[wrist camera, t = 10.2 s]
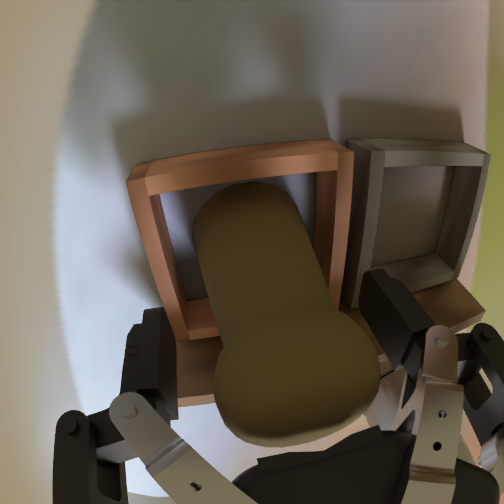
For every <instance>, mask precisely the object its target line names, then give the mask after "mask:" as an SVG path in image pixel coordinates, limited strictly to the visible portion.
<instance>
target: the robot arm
mask: <svg viewBox="0 0 504 504" xmlns="http://www.w3.org/2000/svg"><path fill="white" fill-rule="evenodd" d="M358 305H359V309H360V312H361V314H362V316H363V317H364V319H365V321H366V322H367V324H368V326H369V327H370V329H371V331H372V332H373V334H374V336H375V337H376V339H377V341H378V342H379V344H380V346H381V348H382V349H383V351H384V353H385V354H386V356H387V358H388V360H389V361H390V363H391V365H392V367H393V369H394V370H395V371H394V372H392V373H390V374H388V375H387V376H385V377H383V378H382V379H380V385H379V392H378V393H377V395H376V397H375V399H374V401H373V402H372V404H371V405H370V406H369V408H368V409H367V410H366V411H365V412H364V416H365V418H366V420H367V422H368V424H369V426H370V428H368V429H365V430H362V431H360V432H357V433H354V434H351V435H350V436H348V437H346V438H345V439H343V440H341V441H340V442H338V443H337V444H335V445H333V446H331V447H330V448H328V449H326V450H324V451H315V452H287V453H283V454H278V455H273V456H268V457H263V458H258V459H257V461H258V465H255V466H253V467H251V468H249V469H247V470H246V471H244V472H243V473H241V474H240V475H238V476H237V477H236V478H235V479H234V480H233V481H232V482H230V481H229V480H227V479H226V478H225V477H224V476H223V475H222V474H220V473H219V472H218V471H217V470H216V469H215V468H213V467H212V466H211V465H210V464H209V463H208V462H207V461H206V460H205V459H204V458H202V457H201V456H200V455H199V454H198V453H197V452H196V451H195V450H194V449H193V448H192V447H191V446H190V445H189V444H188V443H187V442H186V441H184V440H183V439H182V438H181V437H180V436H179V435H178V434H177V433H176V432H175V431H174V430H173V429H172V428H171V427H170V420H178V419H179V418H178V396H177V347H176V340H175V335H174V332H173V330H172V327H171V324H170V322H169V319H168V316H167V314H166V311H165V309H164V307H159V308H152V309H145V310H144V313H143V320H142V324H134V325H133V327H132V328H131V330H130V332H129V333H128V335H127V341H126V349H125V355H124V356H125V358H124V363H123V371H122V379H121V389H120V394H119V396H117V397H116V398H115V399H114V400H113V401H112V403H111V405H110V407H109V408H108V409H106V410H103V411H100V412H97V413H94V414H91V415H88V416H86V415H85V414H83V413H82V412H80V411H76V410H71V411H68V412H66V413H64V414H63V415H62V416H61V417H60V418H59V420H58V422H57V425H56V433H55V444H54V458H53V460H54V461H53V504H128V495H127V484H126V471H125V461H127V460H130V459H133V458H136V457H139V458H140V459H141V460H142V462H143V463H144V464H145V466H146V470H147V471H148V472H149V474H150V475H151V476H152V477H153V479H154V480H155V481H156V482H157V483H158V484H159V485H160V486H161V487H162V488H163V490H164V491H165V492H166V493H167V494H168V495H169V496H170V497H171V498H172V499H173V500H174V501H175V502H176V503H177V504H499V500H500V495H501V494H502V493H503V492H504V341H503V339H502V338H501V337H500V335H499V334H498V332H497V331H496V330H495V329H494V328H493V327H492V326H491V325H488V324H486V323H478V324H476V325H475V326H474V327H473V329H472V331H471V333H461V334H455V333H454V332H453V331H452V330H451V329H449V328H448V327H446V326H442V325H436V324H435V323H434V322H433V320H432V319H431V318H430V316H429V315H428V314H427V312H426V311H425V310H424V308H423V307H422V306H421V305H420V303H419V302H418V301H416V298H415V297H414V296H413V295H412V294H411V292H410V291H409V290H408V288H407V287H406V286H405V285H404V284H403V283H402V282H400V281H399V280H397V279H395V278H390V276H389V275H388V274H387V273H386V272H385V270H384V269H382V268H379V269H374V270H370V271H366V272H364V274H363V278H362V283H361V288H360V293H359V298H358ZM481 368H482V369H483V370H484V372H485V374H486V375H487V377H488V379H489V380H490V382H491V384H492V386H493V393H492V394H491V392H490V390H489V389H488V387H487V385H486V383H485V382H484V380H483V378H482V376H481V375H480V373H479V371H480V369H481ZM463 409H464V411H465V413H466V415H467V417H468V419H469V421H470V423H471V425H472V427H473V429H474V432H475V434H476V436H477V438H478V440H479V442H480V445H481V452H480V456H479V457H478V464H479V465H480V466H482V468H480V467H478V466H477V465H476V463H475V461H474V459H473V457H472V456H471V453H470V451H469V449H468V447H467V445H466V443H465V441H464V439H463V437H462V435H461V434H460V430H461V422H462V412H463Z"/></svg>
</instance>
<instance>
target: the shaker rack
mask: <svg viewBox="0 0 504 504" xmlns="http://www.w3.org/2000/svg"><path fill="white" fill-rule="evenodd" d="M489 162H490V154H488V153H486V152H484V151H482V150H480V149H478V148H476V147H474V146H471V145H469V144H467V143H464V142H453V141H439V140H421V139H385V138H366V139H347V143H346V147H344V146H343V145H341V144H339V143H337V142H335V141H333V140H331V139H329V140H310V141H295V142H282V143H271V144H261V145H252V146H243V147H235V148H227V149H220V150H213V151H206V152H200V153H194V154H188V155H182V156H176V157H171V158H165V159H160V160H155V161H150V162H145V163H141V164H137V165H136V166H135V168H134V169H133V171H132V173H131V174H130V176H129V177H128V179H127V180H126V184H127V188H128V192H129V196H130V200H131V204H132V208H133V211H134V215H135V219H136V222H137V226H138V229H139V233H140V236H141V239H142V243H143V246H144V249H145V252H146V256H147V259H148V262H149V265H150V268H151V271H152V274H153V277H154V280H155V283H156V286H157V289H158V292H159V295H160V298H161V300H162V303H163V306H164V309H165V311H166V314H167V316H168V319H169V322H170V324H171V327H172V330H173V332H174V335H175V340H176V347H177V396H178V407H184V406H193V405H202V404H210V403H216V402H215V400H214V390H213V379H214V374H215V369H216V365H217V361H218V357H219V353H220V352H221V351H222V349H223V348H224V346H223V343H222V340H221V337H220V333H219V330H218V327H217V324H216V321H215V317H214V314H213V311H212V308H211V304H210V301H209V298H204V299H198V300H191V301H187V300H186V296H185V293H184V289H183V286H182V282H181V279H180V275H179V271H178V268H177V264H176V260H175V256H174V253H173V249H172V245H171V241H170V237H169V233H168V229H167V224H166V220H165V216H164V212H163V207H162V203H161V198H160V194H161V193H166V192H172V191H177V190H183V189H189V188H195V187H201V186H207V185H214V184H220V183H227V182H234V181H241V180H248V179H256V178H264V177H272V176H281V175H290V174H300V173H310V172H317V175H316V223H315V248H314V252H315V255H316V257H317V260H318V263H319V265H320V268H321V271H322V274H323V276H324V279H325V282H326V285H327V287H328V290H329V293H330V296H331V299H332V302H333V304H334V307H335V310H337V311H339V312H342V313H345V314H347V315H348V316H349V317H350V318H351V319H352V320H354V321H355V322H356V323H357V324H358V325H359V326H360V327H361V328H362V329H363V330H364V332H365V333H366V334H367V335H368V336H369V338H370V339H371V341H372V343H373V345H374V346H375V348H376V350H377V355H378V359H379V363H383V362H385V361H388V358H387V356H386V354H385V353H384V351H383V349H382V348H381V346H380V344H379V342H378V341H377V339H376V337H375V336H374V334H373V332H372V331H371V329H370V327H369V326H368V324H367V322H366V321H365V319H364V317H363V316H362V314H361V312H360V309H359V305H358V298H359V293H360V288H361V283H362V278H363V274H364V272H366V271H370V270H374V269H379V268H382V269H384V270H385V272H386V273H387V274H388V275H389V276H390V278H395V279H397V280H399V281H400V282H402V283H403V284H404V285H405V286H406V287H407V288H408V290H409V291H410V292H411V294H412V295H413V296H414V297H415V298H416V301H418V302H419V303H420V305H421V306H422V307H423V308H424V310H425V311H426V312H427V314H428V315H429V316H430V318H431V319H432V320H433V322H434V323H435V324H436V325H442V326H446V327H448V328H449V329H451V330H452V331H453V332H454V333H456V332H458V331H461V330H463V329H465V328H467V327H469V326H471V325H473V324H475V323H477V322H479V321H481V319H482V317H483V315H484V313H485V309H484V308H483V307H482V306H481V305H480V304H479V303H478V301H477V300H476V299H475V298H474V297H473V296H472V295H471V294H470V293H469V291H468V290H467V289H466V288H465V287H464V286H463V285H462V284H461V283H460V282H459V281H458V280H457V279H456V278H458V276H459V273H460V271H461V268H462V265H463V262H464V259H465V257H466V254H467V251H468V248H469V244H470V241H471V238H472V235H473V231H474V228H475V224H476V221H477V217H478V213H479V209H480V206H481V201H482V197H483V193H484V188H485V183H486V178H487V173H488V168H489ZM402 166H454V173H453V178H452V184H451V189H450V195H449V200H448V204H447V209H446V213H445V218H444V222H443V226H442V230H441V234H440V238H439V242H438V245H437V249H436V252H435V253H432V254H428V255H424V256H420V257H415V258H411V259H407V260H402V261H398V262H393V263H389V264H384V265H380V266H375V267H371V261H372V256H373V250H374V244H375V238H376V232H377V225H378V218H379V211H380V203H381V195H382V186H383V176H384V167H402ZM370 267H371V268H370Z"/></svg>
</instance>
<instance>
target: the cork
mask: <svg viewBox="0 0 504 504" xmlns="http://www.w3.org/2000/svg"><path fill="white" fill-rule="evenodd" d="M192 238H193V243H194V248H195V252H196V256H197V259H198V263H199V267H200V270H201V274H202V277H203V281H204V284H205V287H206V291H207V294H208V298H209V301H210V304H211V308H212V311H213V314H214V317H215V321H216V324H217V327H218V330H219V333H220V337H221V340H222V343H223V346H224V348H223V349H222V351H221V352H220V353H219V357H218V361H217V365H216V369H215V374H214V379H213V390H214V400H215V402H216V405H217V407H218V410H219V412H220V415H221V417H222V419H223V421H224V423H225V425H226V426H227V427H228V428H229V430H230V431H231V432H232V433H233V434H234V435H235V436H236V437H238V438H240V439H241V440H243V441H245V442H247V443H251V444H254V445H259V446H264V447H287V446H294V445H300V444H304V443H307V442H311V441H315V440H318V439H320V438H323V437H325V436H328V435H331V434H333V433H335V432H337V431H339V430H341V429H342V428H344V427H346V426H348V425H349V424H351V423H352V422H353V421H355V420H356V419H358V418H359V417H360V416H361V415H362V414H363V413H364V412H365V411H366V410H367V409H368V408H369V406H370V405H371V404H372V402H373V401H374V399H375V397H376V395H377V393H378V392H379V385H380V377H381V374H380V363H379V359H378V355H377V350H376V348H375V346H374V345H373V343H372V341H371V339H370V338H369V336H368V335H367V334H366V333H365V332H364V330H363V329H362V328H361V327H360V326H359V325H358V324H357V323H356V322H355V321H354V320H352V319H351V318H350V317H349V316H348V315H347V314H345V313H342V312H339V311H337V310H335V307H334V304H333V302H332V299H331V296H330V293H329V290H328V287H327V285H326V282H325V279H324V276H323V274H322V271H321V268H320V265H319V263H318V260H317V257H316V255H315V252H314V249H313V247H312V244H311V242H310V239H309V236H308V234H307V231H306V229H305V226H304V224H303V221H302V219H301V216H300V214H299V211H298V209H297V206H296V205H295V203H294V202H293V201H292V200H291V199H290V198H289V196H288V195H287V194H286V193H284V192H282V191H281V190H279V189H277V188H275V187H273V186H272V185H267V184H262V183H256V182H249V183H241V184H234V185H232V186H230V187H228V188H225V189H223V190H221V191H219V192H217V193H216V194H215V195H214V196H212V197H211V198H210V199H209V200H208V201H207V202H206V203H205V204H204V205H203V206H202V208H201V210H200V211H199V213H198V215H197V217H196V219H195V221H194V227H193V233H192Z"/></svg>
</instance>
